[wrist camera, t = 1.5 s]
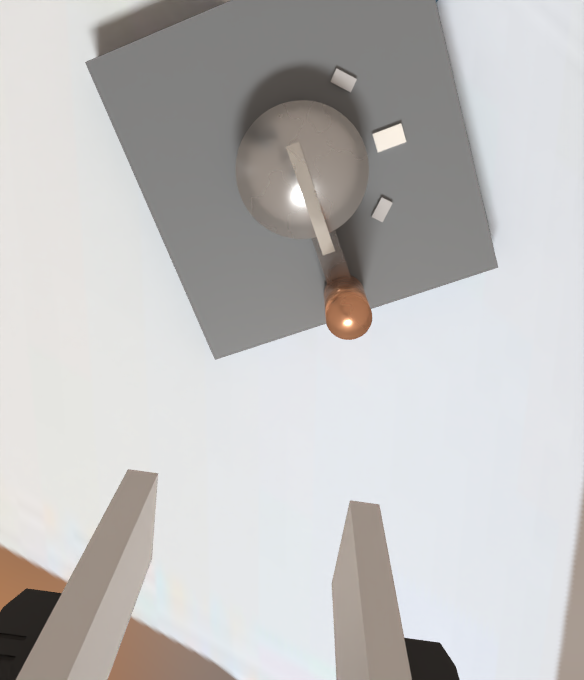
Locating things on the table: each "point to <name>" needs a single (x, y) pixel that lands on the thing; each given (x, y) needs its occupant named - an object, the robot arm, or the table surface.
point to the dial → (310, 193)
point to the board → (267, 92)
